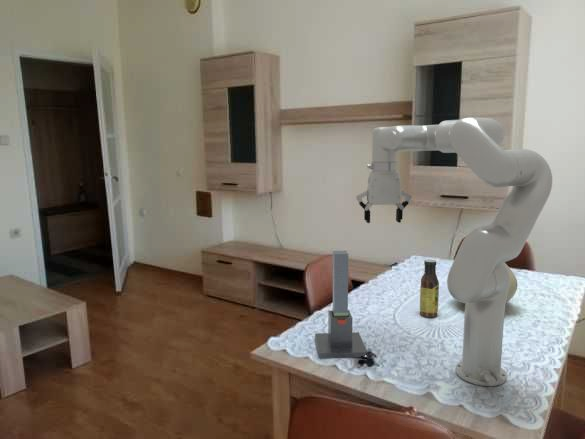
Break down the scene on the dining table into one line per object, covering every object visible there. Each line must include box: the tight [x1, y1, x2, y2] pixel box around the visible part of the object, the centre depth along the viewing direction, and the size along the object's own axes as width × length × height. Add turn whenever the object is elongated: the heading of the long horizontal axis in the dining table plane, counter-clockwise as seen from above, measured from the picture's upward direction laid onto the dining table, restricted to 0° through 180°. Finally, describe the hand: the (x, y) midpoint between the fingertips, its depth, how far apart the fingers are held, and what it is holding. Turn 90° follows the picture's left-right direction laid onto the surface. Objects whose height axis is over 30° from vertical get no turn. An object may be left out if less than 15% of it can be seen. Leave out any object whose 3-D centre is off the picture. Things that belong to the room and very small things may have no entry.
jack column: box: [331, 250, 349, 317], centre depth 139 cm, size 4×4×22 cm
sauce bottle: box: [419, 259, 440, 318], centre depth 165 cm, size 6×6×20 cm
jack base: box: [314, 309, 368, 359], centre depth 141 cm, size 14×14×10 cm
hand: (383, 222), depth 147 cm, fingers open, 9 cm apart
